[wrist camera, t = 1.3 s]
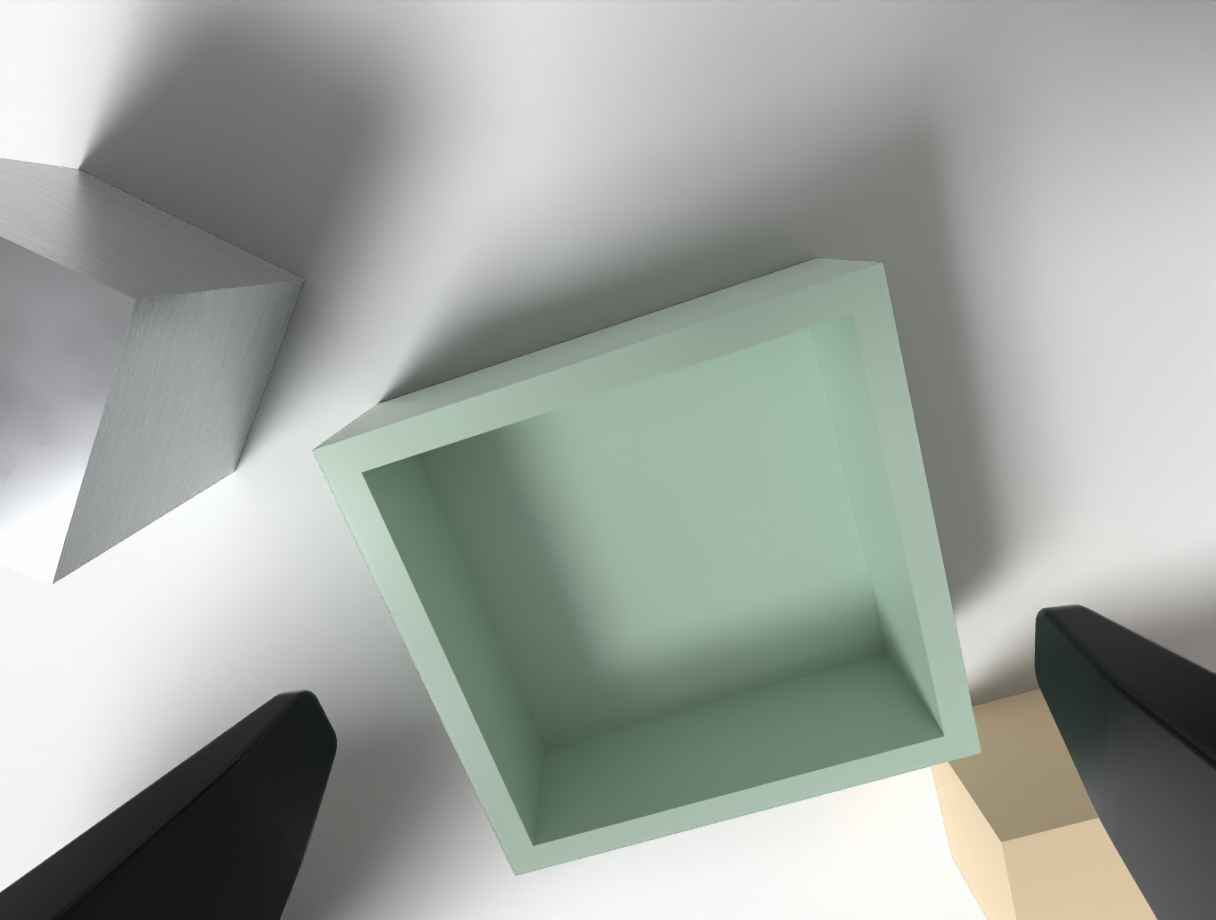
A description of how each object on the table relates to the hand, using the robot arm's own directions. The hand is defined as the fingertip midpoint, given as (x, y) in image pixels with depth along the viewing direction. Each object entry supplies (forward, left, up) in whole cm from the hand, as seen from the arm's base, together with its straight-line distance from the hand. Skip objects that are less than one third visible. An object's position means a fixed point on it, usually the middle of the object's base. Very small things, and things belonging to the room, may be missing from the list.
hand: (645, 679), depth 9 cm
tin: (-11, +7, -12) cm, 17 cm away
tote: (0, -3, -12) cm, 12 cm away
